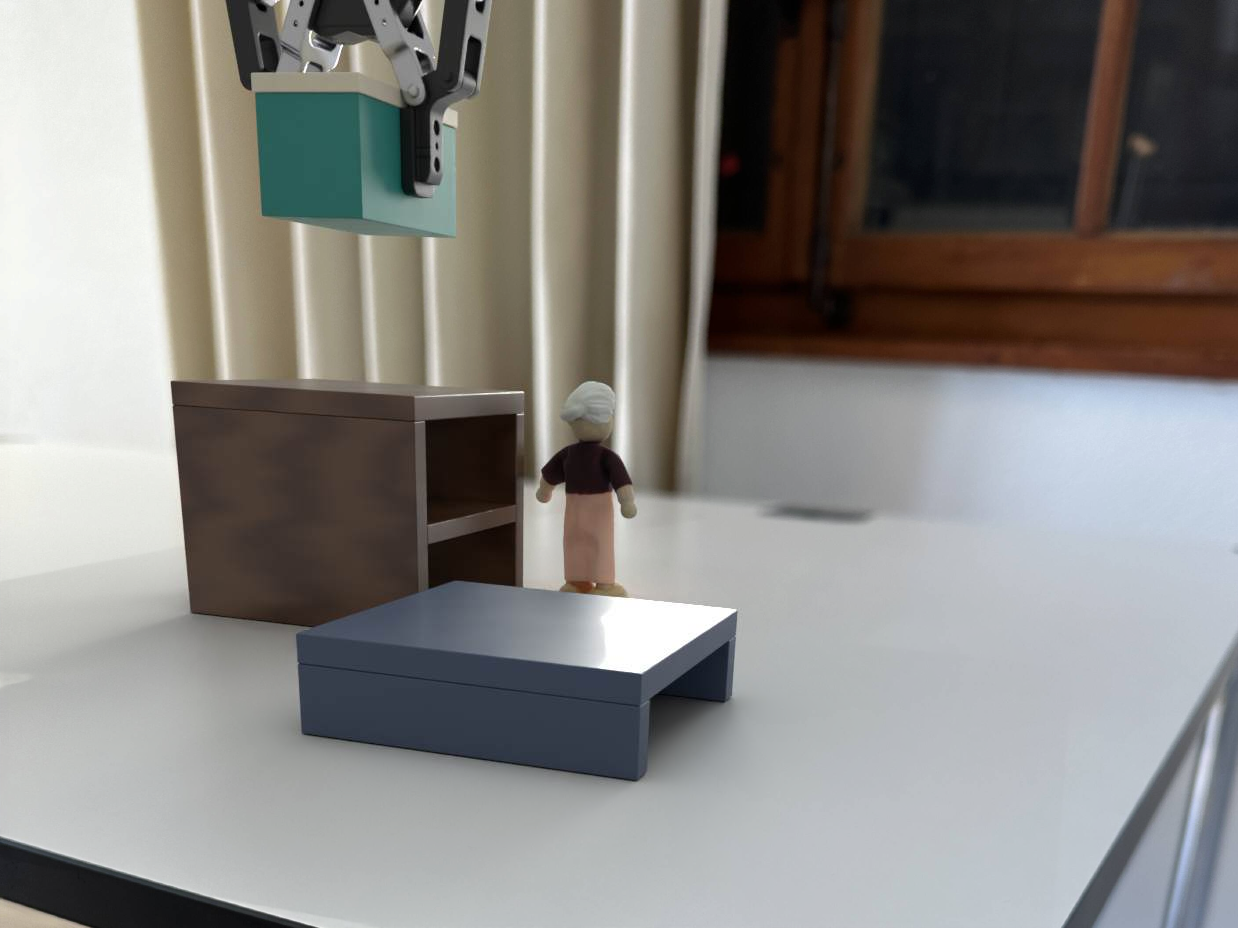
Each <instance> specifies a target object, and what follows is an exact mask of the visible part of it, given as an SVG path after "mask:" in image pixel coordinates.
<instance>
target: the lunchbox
mask: <svg viewBox="0 0 1238 928" xmlns="http://www.w3.org/2000/svg"><path fill="white" fill-rule="evenodd" d="M251 85H252V91H251V92H252V93H254V99H255V100H254V101H255V103H254V104H255V117H256V118H255V120H256V136H257V137H256V138H257V153H258V171H259V172H258V173H259V174H258V175H259V190H260V192H259V193H260V204H261V205H260V209H261V216H262V217H266V218H271V219H275V220H280V221H281V220H282V221H288V222H293V223H296V224H298V223H299V224H304V225H308V226H309V225H310V226H315V227H321V228H325V229H330V230H335V231H341V232H346V233H352V234H357V235H363V236H375V237H376V236H377V237H405V238H406V237H407V238H408V237H409V238H436V239H456V238H457V208H456V207H457V204H456V203H457V198H456V197H457V192H456V191H457V190H456V188H457V187H456V185H457V183H456V181H457V180H456V173H457V172H456V129H458V127H459V125H458V124H459V121H458V120H459V118H458V116H459V115H458V114H459V113H458V111H456V110H454V109H452V108H450V107H448V108H447V109H446V111H445V113H444V116H443V177H442V180H441V184H440V186H438V185H435V190H434V196H433V197H432V198H416V197H412V196H408V195H405V194H404V192H403V189H402V177H401V124H400V108H407V102H406V101H405V100H404V98H403V95H402V92H401V90H400V87H397V86H394V85H392V84H389V83H386V82H385V81H381V80H378V79H376V78H374V77H372V76H369V75H367V74H364V73H362V72H359V71H329V72H283V73H251Z"/></svg>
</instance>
